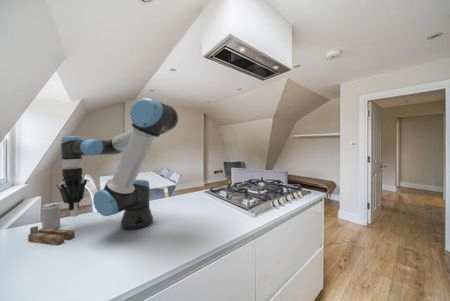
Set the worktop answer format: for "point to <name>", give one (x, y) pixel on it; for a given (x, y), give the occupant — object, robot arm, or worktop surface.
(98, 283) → the worktop surface
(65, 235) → the bar
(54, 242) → the bar
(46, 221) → the beverage can
